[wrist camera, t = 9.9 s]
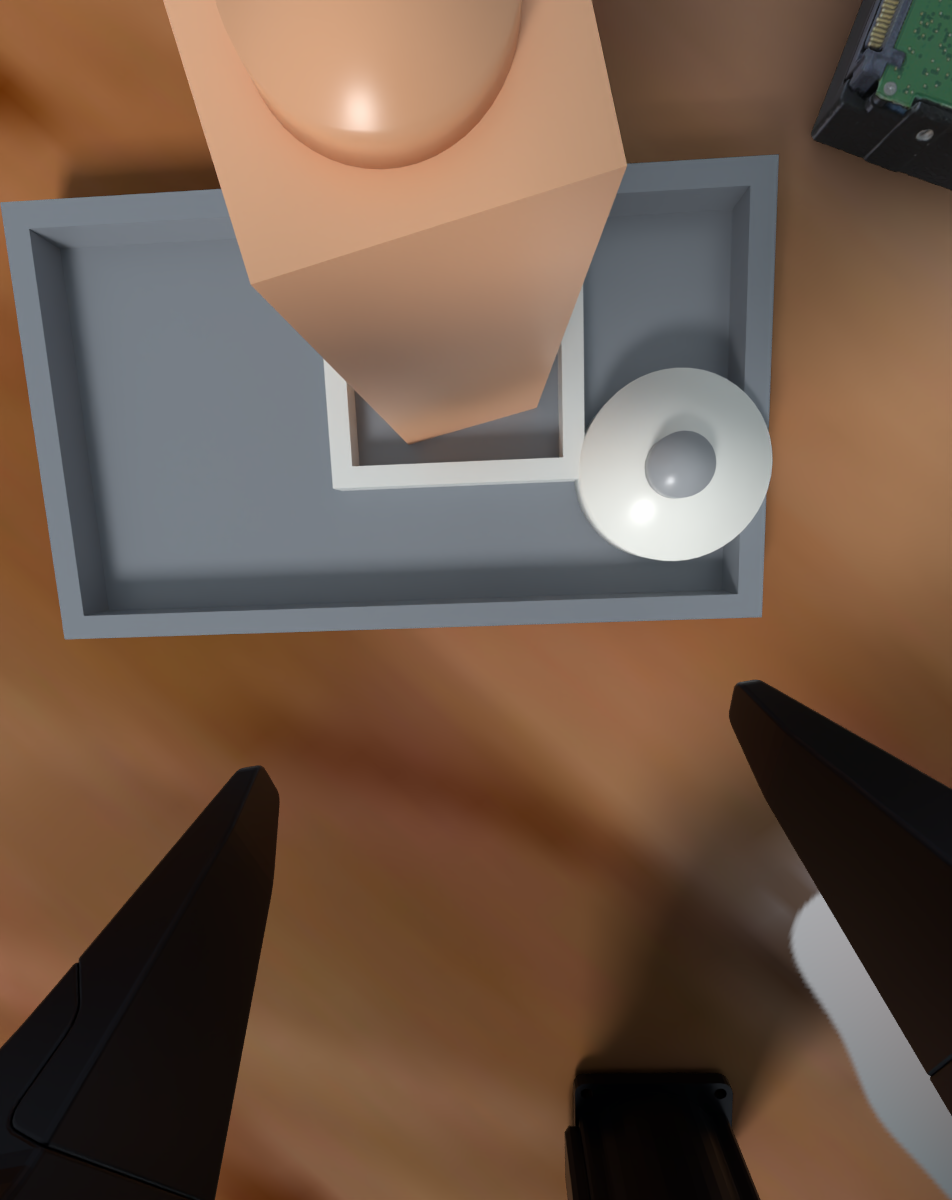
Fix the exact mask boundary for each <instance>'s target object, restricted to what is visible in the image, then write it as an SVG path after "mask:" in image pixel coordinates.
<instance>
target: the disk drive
mask: <svg viewBox="0 0 952 1200" xmlns="http://www.w3.org/2000/svg"><path fill="white" fill-rule="evenodd" d="M811 136H812V138H813V139H814V140H815V141H817V142H821V143H822V144H826V145H829V146H831V147H834V148H837V149H841V150H843V151H845V152H847V153H850V154H853V155H856V156H857V157H862V158H864V160H865V161H867V162H869V163H872V164H875V165H879V166H881V167H883V168H886V169H888V170H892V171H894V172H902V173H906V174H908V175H910V176H913V177H917V178H919V179H922V180H924V181H927V182H930V183H933V184H935V185H940V186H942V187H945V188H947V189H950V190H952V0H863V2H862V4H861V7H860V9H859V12H858V14H857V17H856V19H855V22H854V25H853V27H852V30H851V32H850V35H849V38H848V40H847V43H846V45H845V48H844V50H843V53H842V56H841V58H840V61H839V64H838V66H837V68H836V71H835V74H834V76H833V79H832V82H831V84H830V87H829V89H828V92H827V94H826V97H825V99H824V102H823V104H822V107H821V109H820V112H819V115H818V117H817V119H816V122H815V124H814V127H813V130H812V133H811Z"/></svg>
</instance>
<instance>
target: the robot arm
mask: <svg viewBox="0 0 952 1200" xmlns="http://www.w3.org/2000/svg"><path fill="white" fill-rule="evenodd" d="M729 719H730V723H731V725H732V728H733V730H734V732H735V734H736V737H737V739H738V741H739V743H740V745H741V748H742V750H743V752H744V754H745V756H746V759H747V761H748V763H749V765H750V767H751V770H752V772H753V774H754V776H755V778H756V781H757V783H758V785H759V787H760V789H761V791H762V793H763V795H764V797H765V799H766V801H767V803H768V805H769V806H770V808H771V810H772V812H773V813H774V815H775V817H776V818H777V820H778V822H779V824H780V825H781V827H782V829H783V830H784V832H785V834H786V835H787V837H788V839H789V840H790V842H791V844H792V846H793V847H794V849H795V851H796V852H797V854H798V856H799V857H800V859H801V861H802V862H803V864H804V866H805V868H806V869H807V871H808V873H809V874H810V876H811V878H812V879H813V881H814V883H815V885H816V886H817V888H818V890H819V891H820V893H821V895H822V896H823V898H824V900H825V901H826V903H827V905H828V906H829V908H830V910H831V912H832V913H833V915H834V917H835V918H836V920H837V922H838V923H839V925H840V927H841V929H842V930H843V932H844V933H845V935H846V937H847V939H848V940H849V942H850V944H851V945H852V947H853V949H854V950H855V952H856V954H857V956H858V957H859V959H860V961H861V962H862V964H863V966H864V967H865V969H866V971H867V973H868V974H869V976H870V978H871V979H872V981H873V983H874V984H875V986H876V988H877V989H878V991H879V993H880V995H881V996H882V998H883V1000H884V1001H885V1003H886V1005H887V1006H888V1008H889V1010H890V1011H891V1013H892V1015H893V1017H894V1018H895V1020H896V1022H897V1023H898V1025H899V1027H900V1028H901V1030H902V1032H903V1034H904V1035H905V1037H906V1039H907V1040H908V1042H909V1044H910V1045H911V1047H912V1049H913V1050H914V1052H915V1054H916V1055H917V1057H918V1059H919V1061H920V1062H921V1064H922V1066H923V1067H924V1069H925V1071H926V1072H927V1074H928V1075H930V1076H931V1077H930V1080H931V1082H932V1083H933V1085H934V1087H935V1088H936V1090H937V1092H938V1093H939V1095H940V1097H941V1099H942V1100H943V1102H944V1104H945V1105H946V1107H947V1109H948V1110H949V1112H950V1114H951V1115H952V789H951V788H949V787H947V786H946V785H944V784H942V783H940V782H939V781H937V780H935V779H933V778H932V777H930V776H928V775H926V774H925V773H923V772H921V771H919V770H918V769H916V768H914V767H912V766H910V765H909V764H907V763H905V762H903V761H902V760H900V759H898V758H896V757H895V756H893V755H891V754H889V753H888V752H886V751H884V750H882V749H881V748H879V747H877V746H875V745H874V744H872V743H870V742H868V741H867V740H865V739H863V738H861V737H860V736H858V735H856V734H854V733H853V732H851V731H849V730H847V729H845V728H844V727H842V726H840V725H838V724H837V723H835V722H833V721H831V720H830V719H828V718H826V717H824V716H823V715H821V714H819V713H817V712H816V711H814V710H812V709H810V708H809V707H807V706H805V705H803V704H802V703H800V702H798V701H796V700H795V699H793V698H791V697H789V696H788V695H786V694H784V693H782V692H780V691H779V690H777V689H775V688H773V687H772V686H770V685H768V684H766V683H765V682H763V681H760V680H750V681H744V682H739V683H737V684H736V685H735V687H734V691H733V695H732V700H731V705H730V710H729ZM278 816H279V794H278V791H277V789H276V787H275V785H274V784H273V782H272V780H271V778H270V777H269V775H268V773H267V772H266V770H265V769H264V767H262V766H259V765H257V766H252V767H246V768H241V769H239V770H238V771H237V772H236V773H235V774H234V775H233V776H232V777H231V778H230V780H229V781H228V782H227V783H226V784H225V786H224V787H223V788H222V789H221V790H220V791H219V793H218V794H217V795H216V796H215V797H214V799H213V800H212V801H211V802H210V803H209V805H208V806H207V807H206V808H205V809H204V810H203V812H202V813H201V814H200V815H199V816H198V818H197V819H196V820H195V821H194V822H193V824H192V825H191V826H190V827H189V828H188V829H187V831H186V832H185V833H184V834H183V835H182V837H181V838H180V839H179V840H178V841H177V843H176V844H175V845H174V846H173V847H172V848H171V850H170V851H169V852H168V853H167V854H166V856H165V857H164V858H163V859H162V860H161V862H160V863H159V864H158V865H157V866H156V867H155V869H154V870H153V871H152V872H151V873H150V875H149V876H148V877H147V878H146V879H145V881H144V882H143V883H142V884H141V885H140V886H139V888H138V889H137V890H136V891H135V892H134V894H133V895H132V896H131V897H130V898H129V900H128V901H127V902H126V903H125V904H124V905H123V907H122V908H121V909H120V910H119V911H118V913H117V914H116V915H115V916H114V917H113V919H112V920H111V921H110V922H109V923H108V924H107V926H106V927H105V928H104V929H103V930H102V932H101V933H100V934H99V935H98V936H97V938H96V939H95V940H94V941H93V942H92V943H91V945H90V946H89V947H88V948H87V949H86V951H85V952H84V953H83V954H82V955H81V957H80V958H79V963H75V964H74V965H73V966H72V967H71V968H70V969H69V971H68V972H67V973H66V974H65V975H64V976H63V978H62V979H61V980H60V981H59V982H58V984H57V985H56V986H55V987H54V988H53V989H52V991H51V992H50V993H49V994H48V995H47V996H46V998H45V999H44V1000H43V1001H42V1002H41V1003H40V1004H39V1006H38V1007H37V1008H36V1009H35V1010H34V1011H33V1013H32V1014H31V1015H30V1016H29V1017H28V1018H27V1019H26V1021H25V1022H24V1023H23V1024H22V1025H21V1026H20V1027H19V1029H18V1030H17V1031H16V1032H15V1033H14V1034H13V1035H12V1036H11V1037H10V1038H9V1039H8V1041H7V1042H6V1043H5V1044H4V1045H3V1046H2V1047H1V1048H0V1200H215V1196H216V1190H217V1185H218V1180H219V1174H220V1169H221V1163H222V1158H223V1153H224V1147H225V1142H226V1136H227V1131H228V1126H229V1120H230V1115H231V1110H232V1104H233V1099H234V1093H235V1088H236V1083H237V1077H238V1072H239V1066H240V1061H241V1056H242V1050H243V1045H244V1040H245V1034H246V1029H247V1023H248V1018H249V1013H250V1007H251V1002H252V996H253V991H254V986H255V980H256V975H257V970H258V964H259V959H260V953H261V948H262V943H263V937H264V932H265V927H266V921H267V916H268V910H269V905H270V900H271V894H272V887H273V879H274V869H275V856H276V843H277V829H278ZM573 1100H574V1126H568V1128H567V1129H566V1131H565V1178H566V1188H567V1197H568V1200H760V1198H759V1195H758V1193H757V1190H756V1188H755V1185H754V1183H753V1180H752V1178H751V1175H750V1173H749V1170H748V1168H747V1165H746V1163H745V1160H744V1158H743V1155H742V1153H741V1150H740V1148H739V1145H738V1143H737V1140H736V1138H735V1135H734V1133H733V1130H732V1101H733V1093H732V1089H731V1086H730V1084H729V1082H728V1079H727V1078H726V1077H725V1076H724V1075H722V1074H718V1073H620V1074H580V1075H579V1076H577V1077H576V1078H575V1079H574V1083H573Z"/></svg>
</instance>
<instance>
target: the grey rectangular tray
mask: <svg viewBox="0 0 952 1200" xmlns="http://www.w3.org/2000/svg"><path fill="white" fill-rule="evenodd" d="M778 161H779V154H777V155H761V156H745V157H729V158H713V159H696V160H680V161H664V162H648V163H632V164H627V167H626V170H625V173H624V175H623V178H622V181H621V183H620V186H619V189H618V191H617V194H616V197H615V199H614V202H613V205H612V207H611V210H610V213H609V216H608V218H607V221H606V224H605V226H604V229H603V232H602V234H601V237H600V240H599V242H598V245H597V248H596V250H595V253H594V256H593V258H592V261H591V264H590V266H589V269H588V272H587V274H586V277H585V280H584V282H583V285H582V288H581V290H580V293H579V296H578V298H577V301H576V304H575V307H574V309H573V312H572V315H571V317H570V320H569V323H568V325H567V328H566V331H565V333H564V336H563V339H562V341H561V344H560V347H559V349H558V352H557V355H556V357H555V360H554V363H553V365H552V368H551V371H550V373H549V376H548V379H547V381H546V384H545V387H544V389H543V392H542V395H541V397H540V400H539V403H538V406H537V408H534V409H531V410H527V411H524V412H520V413H517V414H513V415H510V416H506V417H503V418H500V419H496V420H493V421H489V422H486V423H482V424H479V425H475V426H472V427H468V428H465V429H461V430H458V431H455V432H451V433H448V434H444V435H441V436H437V437H434V438H430V439H427V440H423V441H420V442H416V443H413V444H410V445H408V444H407V443H406V442H405V441H404V440H403V439H402V438H401V437H400V436H399V435H398V434H397V433H396V432H395V431H394V430H393V428H392V427H391V426H390V425H389V424H388V423H387V422H386V421H385V420H384V419H383V418H382V417H381V416H380V415H379V414H378V413H377V412H376V411H375V410H374V409H373V408H372V407H371V406H370V405H369V404H368V403H367V402H366V401H365V400H364V399H363V398H362V397H361V396H360V395H359V394H358V393H357V392H356V391H355V390H354V389H353V388H352V387H351V386H350V385H349V384H348V383H347V382H346V381H345V380H344V379H343V378H342V377H341V376H340V375H339V374H338V373H337V372H336V371H335V370H334V369H333V368H332V367H331V366H330V365H329V364H328V363H327V362H326V361H325V360H324V359H323V358H322V356H321V355H320V354H319V353H318V352H317V351H316V350H315V349H314V348H313V347H312V346H311V345H310V344H309V343H308V342H307V341H306V340H305V339H304V338H303V337H302V336H301V335H300V334H299V333H298V332H297V331H296V330H295V329H294V328H293V327H292V326H291V325H290V324H289V323H288V322H287V321H286V320H285V319H284V318H283V317H282V316H281V315H280V314H279V313H278V312H277V311H276V310H275V309H274V308H273V307H272V306H271V305H270V304H269V303H268V302H267V301H266V300H265V299H264V298H263V297H262V296H261V295H260V294H259V293H258V292H257V291H256V290H255V289H254V288H253V287H252V286H251V284H250V281H249V278H248V274H247V271H246V268H245V265H244V261H243V258H242V255H241V252H240V248H239V245H238V242H237V239H236V235H235V232H234V229H233V226H232V222H231V219H230V216H229V213H228V209H227V206H226V203H225V199H224V196H223V193H222V190H221V189H211V190H195V191H179V192H162V193H146V194H130V195H114V196H98V197H82V198H65V199H49V200H33V201H17V202H1V210H2V217H3V224H4V230H5V237H6V244H7V251H8V258H9V264H10V271H11V278H12V285H13V292H14V298H15V305H16V312H17V319H18V325H19V332H20V339H21V346H22V353H23V359H24V366H25V373H26V380H27V386H28V393H29V400H30V407H31V414H32V420H33V427H34V434H35V441H36V448H37V454H38V461H39V468H40V475H41V481H42V488H43V495H44V502H45V509H46V515H47V522H48V529H49V536H50V542H51V549H52V556H53V563H54V570H55V576H56V583H57V590H58V597H59V604H60V610H61V617H62V624H63V631H64V637H65V639H89V638H120V637H151V636H183V635H214V634H246V633H277V632H308V631H340V630H371V629H402V628H434V627H465V626H497V625H528V624H559V623H591V622H622V621H654V620H685V619H716V618H748V617H762V597H763V570H764V543H765V515H766V492H767V490H768V486H769V482H770V478H771V471H772V446H771V440H770V436H769V407H770V379H771V352H772V325H773V298H774V270H775V243H776V216H777V189H778Z"/></svg>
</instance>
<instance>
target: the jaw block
mask: <svg viewBox="0 0 952 1200" xmlns="http://www.w3.org/2000/svg"><path fill="white" fill-rule="evenodd" d="M163 1H164V4H165V7H166V11H167V14H168V17H169V20H170V24H171V27H172V30H173V33H174V37H175V40H176V43H177V46H178V50H179V53H180V56H181V60H182V63H183V66H184V69H185V73H186V76H187V79H188V82H189V86H190V89H191V92H192V95H193V99H194V102H195V105H196V108H197V112H198V115H199V118H200V121H201V125H202V128H203V131H204V134H205V138H206V141H207V144H208V147H209V151H210V154H211V157H212V160H213V164H214V167H215V170H216V173H217V177H218V180H219V183H220V186H221V190H222V193H223V196H224V199H225V203H226V206H227V209H228V213H229V216H230V219H231V222H232V226H233V229H234V232H235V235H236V239H237V242H238V245H239V248H240V252H241V255H242V258H243V261H244V265H245V268H246V271H247V274H248V278H249V281H250V284H251V286H252V287H253V288H254V289H255V290H256V291H257V292H258V293H259V294H260V295H261V296H262V297H263V298H264V299H265V300H266V301H267V302H268V303H269V304H270V305H271V306H272V307H273V308H274V309H275V310H276V311H277V312H278V313H279V314H280V315H281V316H282V317H283V318H284V319H285V320H286V321H287V322H288V323H289V324H290V325H291V326H292V327H293V328H294V329H295V330H296V331H297V332H298V333H299V334H300V335H301V336H302V337H303V338H304V339H305V340H306V341H307V342H308V343H309V344H310V345H311V346H312V347H313V348H314V349H315V350H316V351H317V352H318V353H319V354H320V355H321V356H322V358H323V359H324V360H325V361H326V362H327V363H328V364H329V365H330V366H331V367H332V368H333V369H334V370H335V371H336V372H337V373H338V374H339V375H340V376H341V377H342V378H343V379H344V380H345V381H346V382H347V383H348V384H349V385H350V386H351V387H352V388H353V389H354V390H355V391H356V392H357V393H358V394H359V395H360V396H361V397H362V398H363V399H364V400H365V401H366V402H367V403H368V404H369V405H370V406H371V407H372V408H373V409H374V410H375V411H376V412H377V413H378V414H379V415H380V416H381V417H382V418H383V419H384V420H385V421H386V422H387V423H388V424H389V425H390V426H391V427H392V428H393V430H394V431H395V432H396V433H397V434H398V435H399V436H400V437H401V438H402V439H403V440H404V441H405V442H406V443H407V444H408V445H410V444H413V443H416V442H420V441H423V440H427V439H430V438H434V437H437V436H441V435H444V434H448V433H451V432H455V431H458V430H461V429H465V428H468V427H472V426H475V425H479V424H482V423H486V422H489V421H493V420H496V419H500V418H503V417H506V416H510V415H513V414H517V413H520V412H524V411H527V410H531V409H534V408H537V406H538V403H539V400H540V397H541V395H542V392H543V389H544V387H545V384H546V381H547V379H548V376H549V373H550V371H551V368H552V365H553V363H554V360H555V357H556V355H557V352H558V349H559V347H560V344H561V341H562V339H563V336H564V333H565V331H566V328H567V325H568V323H569V320H570V317H571V315H572V312H573V309H574V307H575V304H576V301H577V298H578V296H579V293H580V290H581V288H582V285H583V282H584V280H585V277H586V274H587V272H588V269H589V266H590V264H591V261H592V258H593V256H594V253H595V250H596V248H597V245H598V242H599V240H600V237H601V234H602V232H603V229H604V226H605V224H606V221H607V218H608V216H609V213H610V210H611V207H612V205H613V202H614V199H615V197H616V194H617V191H618V189H619V186H620V183H621V181H622V178H623V175H624V173H625V170H626V167H627V163H626V158H625V153H624V149H623V144H622V139H621V135H620V130H619V125H618V121H617V116H616V111H615V107H614V102H613V98H612V93H611V88H610V84H609V79H608V74H607V70H606V65H605V60H604V56H603V51H602V46H601V42H600V37H599V32H598V28H597V23H596V18H595V14H594V9H593V4H592V0H163Z"/></svg>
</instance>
